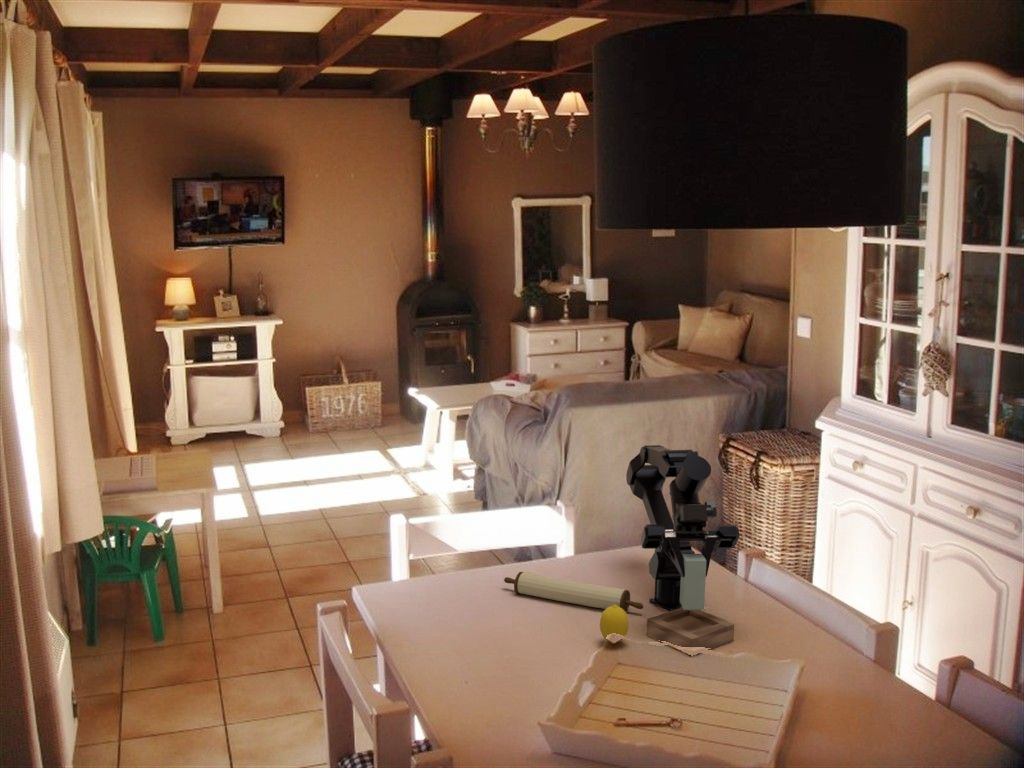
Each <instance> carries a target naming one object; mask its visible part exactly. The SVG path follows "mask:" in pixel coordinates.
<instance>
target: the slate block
mask: <svg viewBox="0 0 1024 768" xmlns="http://www.w3.org/2000/svg"><path fill="white" fill-rule="evenodd" d="M682 559H683V563H684V570H685V576H684V577H682V576H681V584H680V603H681V605H682V607H683V609H684V610H702V611H705V600H706V599H705V597H706V596H705V595H706V579H707V577H706V559H705V558H704V556H703V555H702V553H695V554H682ZM682 607H681V608H682Z"/></svg>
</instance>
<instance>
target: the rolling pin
mask: <svg viewBox="0 0 1024 768" xmlns="http://www.w3.org/2000/svg"><path fill="white" fill-rule="evenodd" d="M503 581H504V583H506V584H512V585H513V587H514V592H515V594H516V595H520V594H523V595H527V596H533V597H537V598H542V599H548V600H554V601H556V602H557V601H558V602H564V603H569V604H573V605H581V606H585V607H586V606H587V607H591V608H597V609H603V610H605V609H606V608H608V607H610V606H613V605H617V606H618V607H620V608H622V609H623V610H624V611H625V613H626V612H627V611H628V610H629V607H630V606H631V607H632V608H635V609H639V610H643V608H644V605H643V603H641V602H638V601H637V602H636V601H633V600H631V594H630V591H629V590H628V589H626V588H618V587H611V586H610V587H609V586H604V585H597V584H591V583H584V582H578V581H573V580H568V579H561V578H555V577H551V576H545V575H541V574H536V573H532V572H529V571H519V572H518V573H517V574H516V576H515V578H512V577H508V576H507V577H506V576H505V577H504V578H503Z"/></svg>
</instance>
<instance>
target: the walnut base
mask: <svg viewBox="0 0 1024 768" xmlns="http://www.w3.org/2000/svg"><path fill="white" fill-rule="evenodd" d="M734 636H735V624H734V623H732V622H730V621H728V620H725V619H723V618H721V617H719V616H715V615H713V614H712V613H710V612H706V611H705V610H684V609H683V607H680V608H677V609H674V610H669V611H667V612H664V613H661V614H658V615H657V614H656V615H654V616H653V617H652V616H651V617H649V618H646V637H649V638H651V639H653V640H655V641H657V640H660V641H666V642H669V643H671V644H673V645H677V646H681V647H705V648H711V649H710V650H713V649H715V648H718V647H721V646H724V645H726V644H729V643H732V642H734Z"/></svg>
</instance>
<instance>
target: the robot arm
mask: <svg viewBox="0 0 1024 768" xmlns="http://www.w3.org/2000/svg"><path fill="white" fill-rule="evenodd" d="M711 474H712V466H711V464H710V463H709V462H708V461H707V460H706V459H705V458H704V457H702V456H700V455H699V451H693V449H670V448H667V447H664V446H663V445H660V444H657V445H652V444H651V445H649V444H648V445H644V446H641V447H640V450H639V453H638V454H636V456H634V457H633V458H632V459H631V460H630V461H629V464H628V466H627V470H626V473H625V475H626V484H627V486H629V488H630V491H631V493H632V494H633V495H634V496H635V497H636V498H638V499H640V500H641V501H642V503H643V505H644V508H645V512H646V514H647V518H648V521H649V524H645V526H644V527H643V529H642V532H641V538H640V544H641V548H642V549H645V550H646V549H647V550H649V549H651V550H652V549H653V550H654V549H655V550H654V552H653V554H652V557H650V560H649V562H648V573H649V574H650V576H651V577H652V578H653V579H654V597H652V598H649V602H650V603H652V604H654V605H657V606H658V607H661V608H663V609H666V610H667V611H673V610H676V609H679V608H682V605H681V603H680V584H681V576H682V577H684V576H685V570H684V563H683V559H682V554H696V552H695V551H694V550H693V549H692V543H690V542H693V541H694V542H696V541H697V542H703V546H702V548H701V549H700V550H701V551H700V552H701V554H702V555H703V556H704V558H705V559H706V578H707V577H708V572H709V569H710V563H711V559H712V554H713V553H716V552H717V551H718V549H719V550H720V549H723V550H724V549H725V550H726V549H727V550H728V549H733V548H735V547H736V544H737V543H738V541H739V539H740V530H739V527H738V526H737V525H736V524H729V523H728V524H727V523H726V524H719V523H718V524H717V526H716V528H715V529H714V530H704V528H706V527H707V522H708V521H709V519H714V518H716V517H717V514H718V511H717V503H716V500H706V501H704V503H703V504H702V502H700V495H699V492H701V491H702V490H703V488H704V487H705V485H706V482H707V481H708V479H709V477H710V475H711ZM667 478H674V479H672V480H671V482H670V483H669V486H668V487H669V491H668V492H669V495H670V503H671V512H672V515H671V512H670V510H669V507H668V505H667V502H666V499H665V497H664V493H663V489H664V485H665V482H666V479H667Z"/></svg>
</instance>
